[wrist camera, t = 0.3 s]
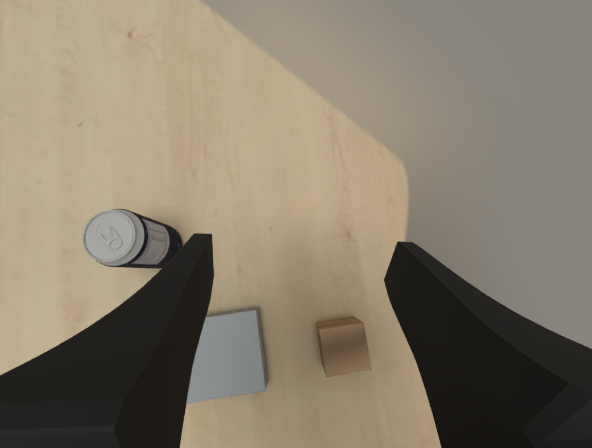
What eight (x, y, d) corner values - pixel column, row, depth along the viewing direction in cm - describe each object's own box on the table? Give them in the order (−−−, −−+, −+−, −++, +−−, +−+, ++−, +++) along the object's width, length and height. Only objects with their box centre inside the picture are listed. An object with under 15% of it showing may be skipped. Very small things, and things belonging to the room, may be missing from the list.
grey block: (267, 380, 38) (265, 390, 35) (195, 391, 38) (186, 403, 35) (258, 306, 40) (255, 310, 36) (189, 317, 39) (179, 321, 36)
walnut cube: (361, 357, 39) (371, 369, 34) (322, 363, 38) (326, 376, 34) (354, 316, 39) (363, 322, 34) (315, 322, 39) (319, 329, 34)
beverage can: (168, 216, 41) (117, 194, 29) (192, 250, 40) (151, 240, 29) (132, 243, 40) (66, 230, 29) (156, 277, 40) (99, 279, 28)
